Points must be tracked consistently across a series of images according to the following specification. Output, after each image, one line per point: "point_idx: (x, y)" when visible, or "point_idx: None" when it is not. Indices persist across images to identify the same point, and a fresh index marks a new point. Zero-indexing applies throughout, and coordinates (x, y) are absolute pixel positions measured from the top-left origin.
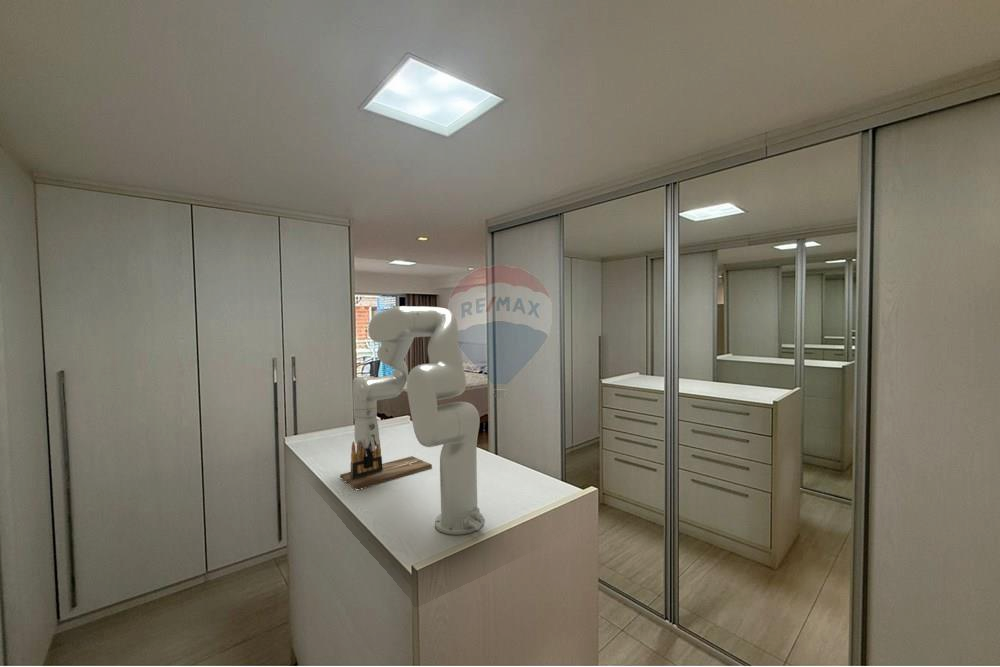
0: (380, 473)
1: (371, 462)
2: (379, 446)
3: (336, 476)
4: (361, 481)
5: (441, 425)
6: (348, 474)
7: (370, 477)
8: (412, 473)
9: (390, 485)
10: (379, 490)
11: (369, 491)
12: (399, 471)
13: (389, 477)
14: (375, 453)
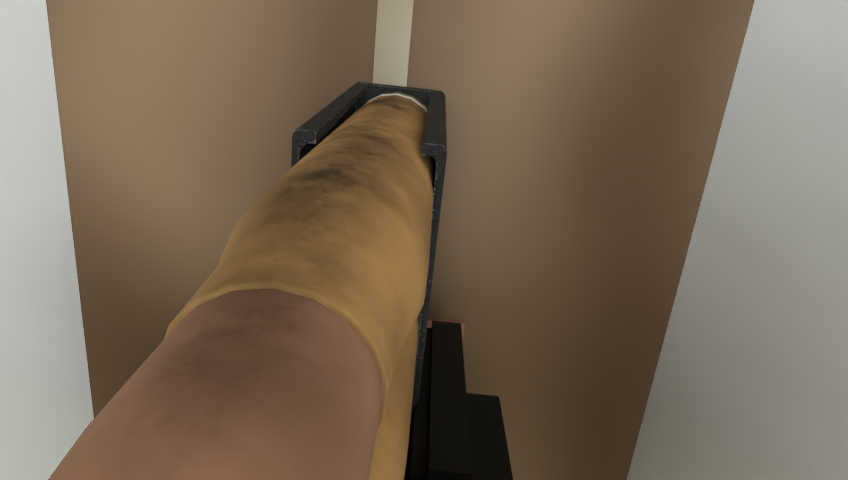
0: (484, 157)
1: (499, 422)
2: (400, 330)
3: (17, 448)
4: (537, 462)
5: None
6: None
7: (507, 331)
8: None
9: (823, 212)
10: (817, 373)
11: (735, 446)
12: None
13: (709, 137)
14: (408, 368)
